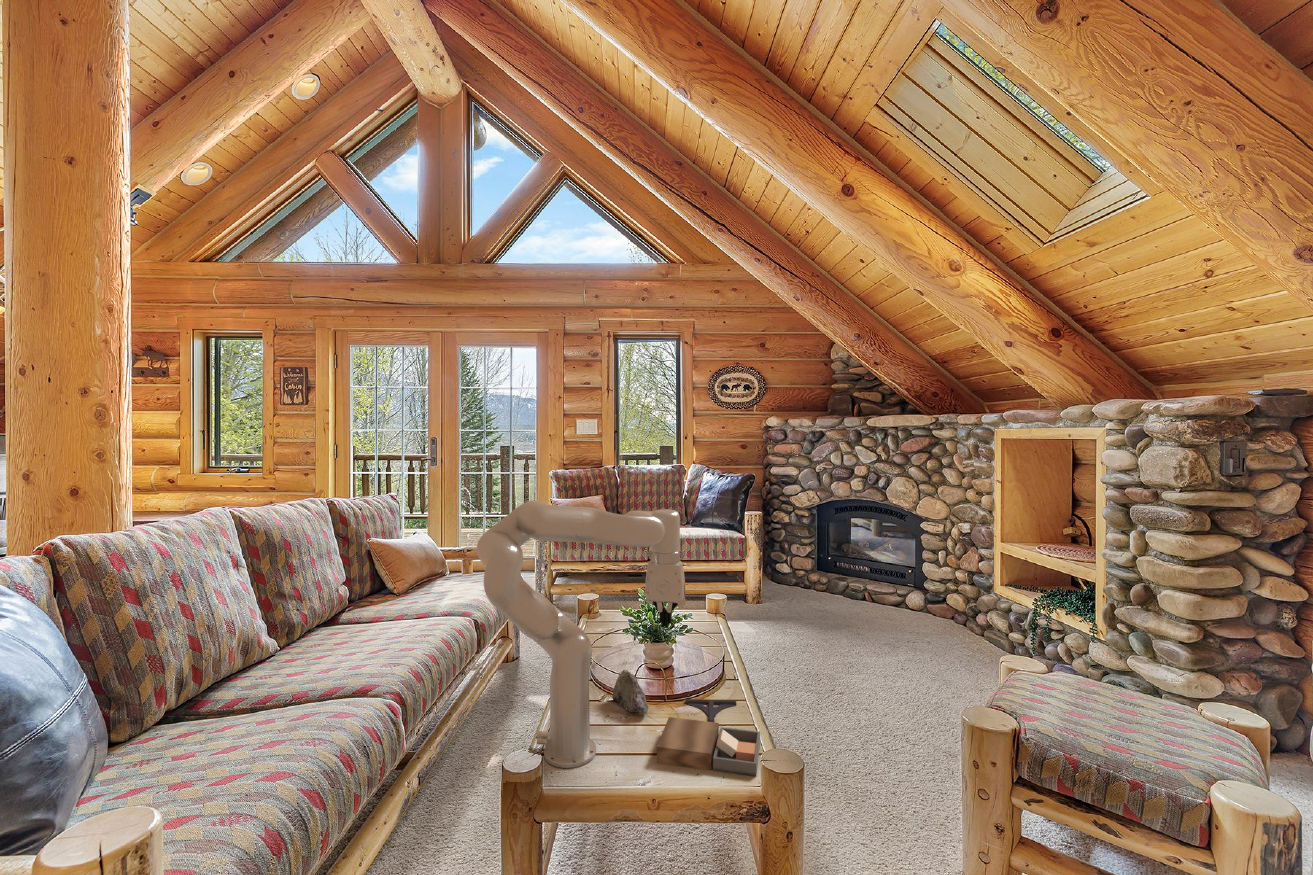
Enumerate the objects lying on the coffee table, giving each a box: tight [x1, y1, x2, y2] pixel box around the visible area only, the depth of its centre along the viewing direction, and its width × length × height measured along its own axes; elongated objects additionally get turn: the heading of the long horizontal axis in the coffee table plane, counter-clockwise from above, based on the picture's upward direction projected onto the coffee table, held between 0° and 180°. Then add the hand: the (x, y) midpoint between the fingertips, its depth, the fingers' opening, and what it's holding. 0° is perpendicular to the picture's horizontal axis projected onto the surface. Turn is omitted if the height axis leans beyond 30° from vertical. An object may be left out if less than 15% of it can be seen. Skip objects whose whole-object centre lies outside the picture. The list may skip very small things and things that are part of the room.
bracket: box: [685, 698, 737, 722], centre depth 167 cm, size 14×15×3 cm
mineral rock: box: [611, 669, 649, 715], centre depth 171 cm, size 13×11×10 cm
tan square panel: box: [656, 716, 720, 771], centre depth 150 cm, size 13×14×4 cm
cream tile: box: [716, 730, 738, 757], centre depth 148 cm, size 4×4×2 cm
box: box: [712, 726, 761, 777], centre depth 148 cm, size 10×14×3 cm
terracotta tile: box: [736, 741, 756, 762], centre depth 147 cm, size 4×4×2 cm
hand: (665, 625), depth 160 cm, fingers closed
